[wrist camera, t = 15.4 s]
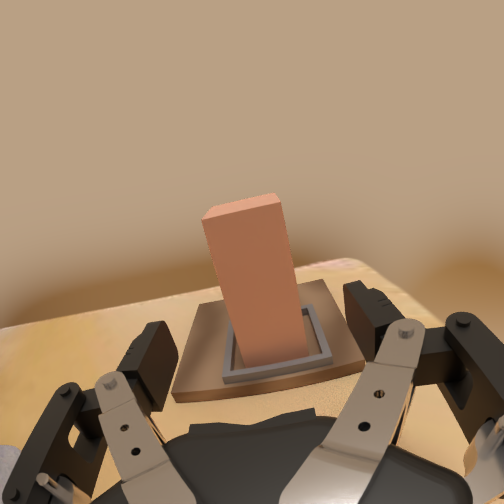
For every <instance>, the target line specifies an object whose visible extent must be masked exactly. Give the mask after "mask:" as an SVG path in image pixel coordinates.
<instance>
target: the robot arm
mask: <svg viewBox="0 0 504 504" xmlns="http://www.w3.org/2000/svg"><path fill="white" fill-rule="evenodd" d="M343 293H344V303H345V315H346V321H347V325H348V327H349V330H350V331H351V333H352V335H353V337H354V339H355V341H356V343H357V345H358V347H359V349H360V351H361V352H362V354H363V356H364V358H365V360H366V362H367V364H366V366H365V368H364V370H363V372H362V374H361V376H360V378H359V380H358V382H357V384H356V385H355V387H354V389H353V391H352V393H351V395H350V397H349V399H348V400H347V402H346V404H345V406H344V408H343V409H342V411H341V413H340V415H339V416H338V418H336V417H329V416H316V414H315V409H314V408H310V409H305V410H300V411H295V412H290V413H285V414H281V415H278V416H276V417H273V418H270V419H267V420H265V421H262V422H259V423H256V424H253V425H239V424H228V423H219V422H218V423H205V424H190V427H189V432H188V433H187V434H184V435H181V436H178V437H176V438H174V439H172V440H170V441H168V442H167V441H166V440H165V438H164V437H163V435H162V434H161V432H160V430H159V429H158V427H157V426H156V424H155V422H154V421H153V419H152V418H151V416H150V415H151V412H162V410H163V407H164V404H165V401H166V397H167V394H168V391H169V388H170V385H171V381H172V378H173V375H174V372H175V369H176V366H177V363H178V350H177V347H176V345H175V343H174V340H173V338H172V336H171V333H170V331H169V329H168V326H167V324H166V323H165V321H157V322H150V323H147V325H146V327H145V329H144V330H143V332H142V334H140V335H139V336H138V337H137V338H135V339H134V340H133V341H132V343H131V345H130V347H129V349H128V350H127V352H126V355H124V357H123V359H122V361H121V363H120V364H119V366H118V368H117V370H116V371H114V372H109V373H107V374H105V375H103V376H102V377H100V378H99V379H98V381H97V382H96V384H95V388H93V389H89V390H85V391H82V390H81V388H80V387H79V385H78V384H77V383H74V382H70V383H66V384H64V385H62V386H61V387H59V388H58V389H57V390H56V392H55V393H54V395H53V397H52V398H51V400H50V402H49V403H48V405H47V407H46V408H45V410H44V412H43V413H42V415H41V417H40V419H39V420H38V422H37V424H36V426H35V427H34V429H33V431H32V433H31V435H30V437H29V438H28V440H27V442H26V444H25V446H24V448H23V450H22V452H21V454H20V456H19V458H18V460H17V462H16V464H15V466H14V468H13V470H12V472H11V474H10V476H9V478H8V481H7V483H6V485H5V487H4V490H3V493H2V501H3V504H490V503H491V502H493V501H495V500H496V499H498V498H499V499H504V344H503V343H502V342H501V341H500V340H499V339H498V338H497V337H496V336H495V335H494V334H493V333H492V332H491V331H490V330H489V329H488V328H487V327H486V326H485V325H484V324H483V323H482V322H481V321H480V320H479V319H478V318H477V317H476V316H475V315H473V314H471V313H468V312H457V313H453V314H451V315H450V316H449V317H448V318H447V319H446V324H445V327H438V328H429V329H426V328H425V327H424V325H423V324H422V323H421V322H419V321H417V320H414V319H406V318H405V317H404V316H403V315H402V314H401V312H400V311H399V310H398V309H397V308H396V307H395V305H394V304H392V302H391V301H390V300H389V299H388V298H387V296H386V295H385V294H384V293H383V292H381V291H379V290H377V289H375V288H372V289H367V288H366V286H365V285H364V284H363V283H362V282H361V281H360V280H358V281H355V282H351V283H347V284H344V285H343ZM430 384H437V386H438V387H439V389H440V391H441V393H442V394H443V396H444V398H445V400H446V401H447V403H448V405H449V407H450V409H451V410H452V412H453V414H454V416H455V418H456V420H457V421H458V423H459V425H460V427H461V429H462V431H463V433H464V435H465V437H466V439H467V441H468V443H469V447H468V448H467V450H466V452H465V454H464V459H463V461H464V467H465V476H464V478H463V477H462V476H460V475H459V474H458V473H456V472H454V471H452V470H450V469H447V468H445V467H443V466H440V465H438V464H435V463H433V462H431V461H428V460H426V459H424V458H421V457H419V456H417V455H415V454H413V453H410V452H408V451H406V450H404V449H402V448H400V447H398V446H397V444H398V442H399V439H400V436H401V433H402V430H403V427H404V424H405V421H406V418H407V415H408V412H409V409H410V406H411V403H412V400H413V396H414V393H415V390H416V386H422V385H430ZM73 425H74V426H75V427H76V428H77V429H78V430H79V432H80V434H79V436H78V438H77V441H76V443H75V445H74V448H72V447H71V446H70V444H69V441H68V435H69V432H70V430H71V428H72V426H73ZM107 446H108V447H109V450H110V452H111V455H112V457H113V460H114V462H115V465H116V467H117V469H118V472H119V474H120V476H121V480H120V481H119V482H117V483H116V484H115V485H114V486H112V487H111V488H110V489H108V490H107V491H106V492H104V493H103V494H102V495H100V496H99V497H98V498H96V499H95V500H94V501H92V500H91V498H92V494H93V491H94V488H95V484H96V481H97V478H98V474H99V471H100V468H101V465H102V462H103V459H104V455H105V452H106V449H107Z"/></svg>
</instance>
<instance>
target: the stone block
mask: <svg viewBox="0 0 504 504" xmlns="http://www.w3.org/2000/svg"><path fill="white" fill-rule="evenodd" d="M21 452H22V451H21V450H19V449H18V448H16V447H14V446H9V445H0V504H3V501H2V493H3V490H4V487H5V485H6V483H7V481H8V478H9V476H10V474H11V472H12V470H13V468H14V466H15V464H16V462H17V460H18V458H19V456H20V454H21Z"/></svg>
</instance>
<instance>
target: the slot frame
mask: <svg viewBox="0 0 504 504" xmlns="http://www.w3.org/2000/svg"><path fill="white" fill-rule="evenodd" d="M301 311H302V316H305V315H309V318H310V321H311V324H312V327H313V330H314V333H315V336H316V339H317V342H318V345H319V348H320V351H321V354H317V355H313V356H309V357H304V358H300V359H295V360H290V361H285V362H280V363H275V364H270V365H264V366H258V367H252V368H246V369H240V370H234V357H235V344H236V336H235V333H234V330H233V327H232V324H231V320H229V324H228V332H227V340H226V347H225V355H224V363H223V371H222V379H223V381H224V384H232V383H240V382H246V381H253V380H259V379H265V378H271V377H276V376H282V375H287V374H292V373H297V372H301V371H306V370H310V369H315V368H319V367H323V366H327V365H331V364H333V357H332V354H331V351H330V348H329V346H328V343H327V340H326V338H325V335H324V332H323V330H322V327H321V325H320V322H319V319H318V317H317V314H316V312H315V309H314V307H313V304H307V305H303V306H301Z"/></svg>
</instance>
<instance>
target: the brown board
mask: <svg viewBox="0 0 504 504" xmlns="http://www.w3.org/2000/svg"><path fill="white" fill-rule="evenodd" d="M297 288H298V294H299V299H300V305H301V306H303V305H307V304H313V307H314V309H315V312H316V314H317V317H318V319H319V322H320V325H321V327H322V330H323V332H324V335H325V338H326V340H327V343H328V346H329V348H330V351H331V354H332V357H333V364H331V365H327V366H323V367H319V368H315V369H310V370H306V371H301V372H297V373H292V374H287V375H282V376H276V377H271V378H265V379H259V380H253V381H246V382H240V383H232V384H224V381H223V379H222V371H223V363H224V355H225V347H226V340H227V332H228V324H229V320H230V317H229V314H228V311H227V307H226V304H225V301H224V300H220V301H214V302H209V303H204V304H199V307H198V310H197V313H196V316H195V319H194V322H193V325H192V328H191V331H190V334H189V337H188V340H187V343H186V346H185V349H184V352H183V356H182V359H181V362H180V365H179V368H178V371H177V375H176V378H175V381H174V384H173V388H172V391H171V394H172V396H173V398H174V399H175V401H176V403H181V402H196V401H208V400H218V399H227V398H235V397H243V396H250V395H257V394H263V393H269V392H275V391H280V390H286V389H291V388H296V387H301V386H305V385H310V384H314V383H319V382H323V381H327V380H331V379H335V378H339V377H343V376H347V375H350V374H354V373H357V372H361V371H363V370H364V368H365V358H364V356H363V354H362V352H361V351H360V349H359V347H358V345H357V343H356V341H355V339H354V337H353V335H352V333H351V331H350V330H349V327H348V325H347V323H346V321H345V319H344V317H343V315H342V313H341V312H340V310H339V308H338V306H337V304H336V302H335V300H334V299H333V297H332V295H331V293H330V291H329V289H328V288H327V286H326V284H325V282H324V280H323V279H319V280H315V281H311V282H306V283H302V284H297ZM302 317H303V323H304V329H305V335H306V341H307V347H308V354H309V356H313V355H317V354H321V351H320V348H319V345H318V342H317V339H316V336H315V333H314V330H313V327H312V324H311V321H310V318H309V315H305V316H302ZM309 356H308V357H309ZM299 359H300V358H299ZM294 360H295V359H294ZM289 361H290V360H289ZM279 363H280V362H279ZM274 364H275V363H274ZM269 365H270V364H269ZM263 366H264V365H263ZM240 369H246V367H245V364H244V361H243V358H242V355H241V352H240V349H239V346H238V343H237V339H236V344H235V357H234V370H240Z"/></svg>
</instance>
